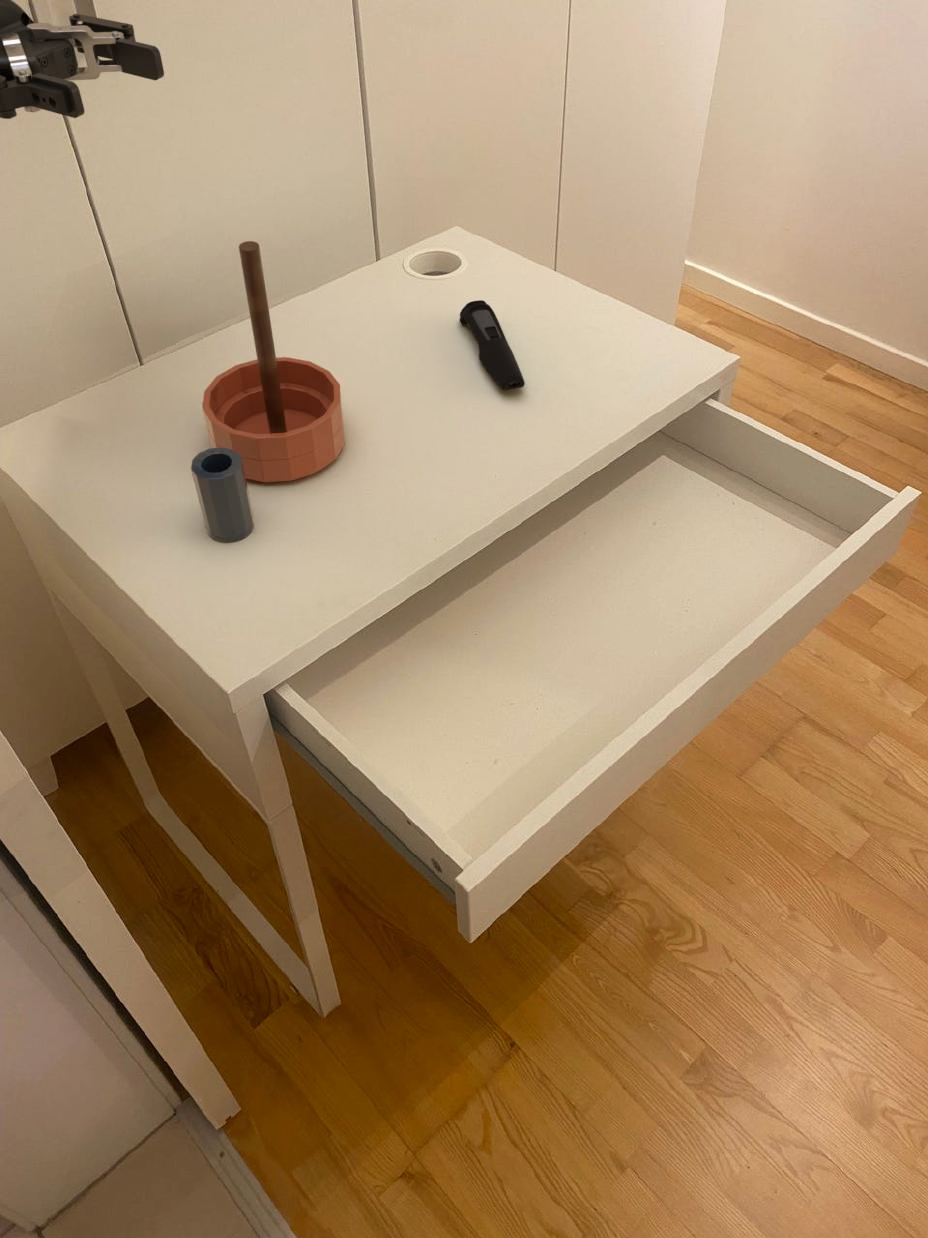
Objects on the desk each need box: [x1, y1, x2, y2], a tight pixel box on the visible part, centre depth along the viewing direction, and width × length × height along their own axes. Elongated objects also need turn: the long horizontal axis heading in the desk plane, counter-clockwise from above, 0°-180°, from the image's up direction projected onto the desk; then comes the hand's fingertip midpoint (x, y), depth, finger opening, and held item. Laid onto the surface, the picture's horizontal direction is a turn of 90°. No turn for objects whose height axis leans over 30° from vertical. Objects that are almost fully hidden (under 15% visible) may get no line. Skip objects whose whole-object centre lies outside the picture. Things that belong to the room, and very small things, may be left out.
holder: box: [190, 447, 255, 543], centre depth 80 cm, size 4×4×7 cm
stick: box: [238, 240, 287, 434], centre depth 83 cm, size 2×2×19 cm
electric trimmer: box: [459, 299, 525, 391], centre depth 99 cm, size 4×16×3 cm, turn 15°
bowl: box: [201, 356, 346, 483], centre depth 88 cm, size 12×12×6 cm
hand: (120, 81), depth 70 cm, fingers open, 8 cm apart
